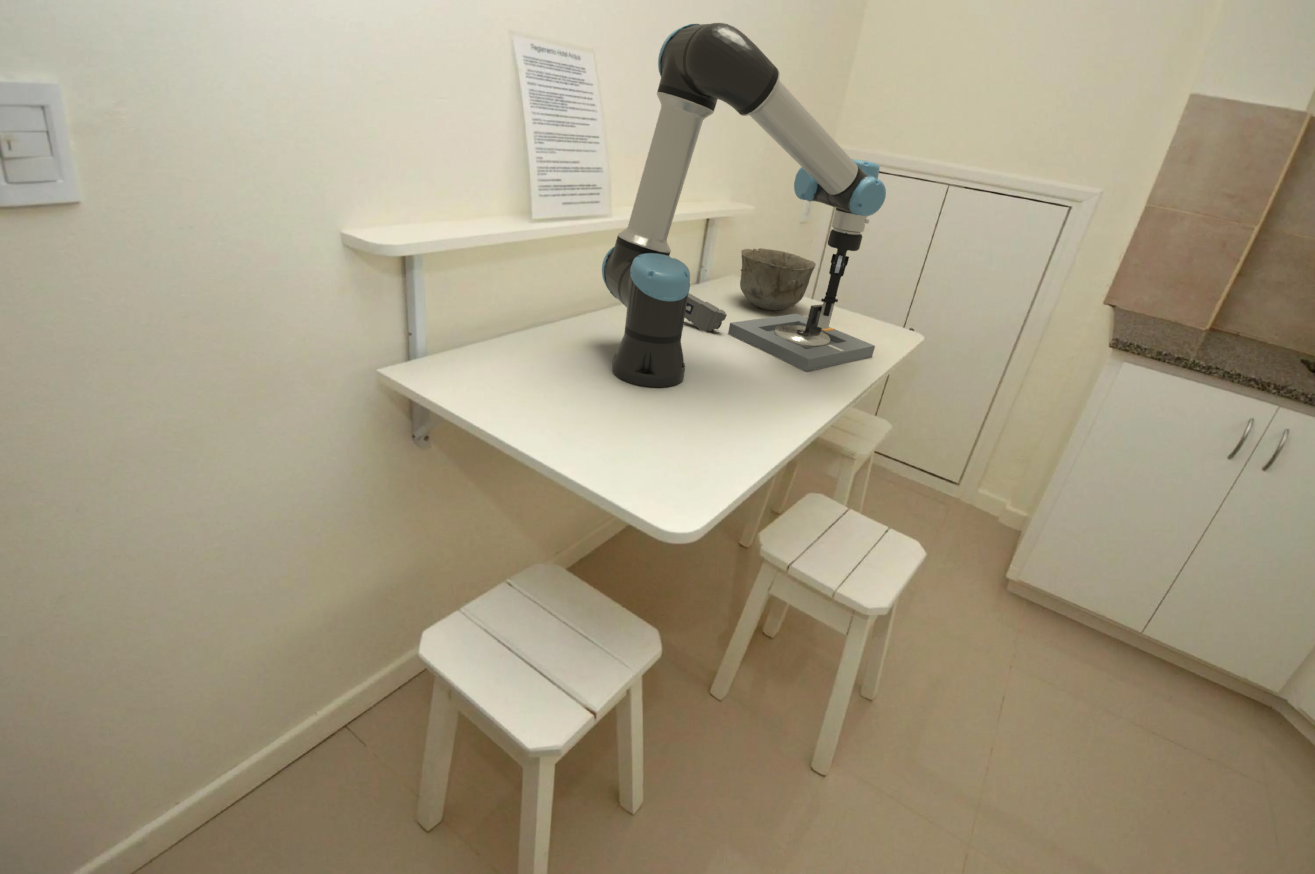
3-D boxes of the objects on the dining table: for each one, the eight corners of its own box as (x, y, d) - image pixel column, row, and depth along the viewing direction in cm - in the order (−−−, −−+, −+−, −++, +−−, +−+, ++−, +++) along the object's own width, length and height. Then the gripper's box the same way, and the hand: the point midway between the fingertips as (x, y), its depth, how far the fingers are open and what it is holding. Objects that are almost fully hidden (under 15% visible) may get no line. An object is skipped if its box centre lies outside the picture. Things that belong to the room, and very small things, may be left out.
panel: (805, 371, 150) (809, 358, 149) (727, 334, 167) (730, 322, 166) (871, 356, 166) (875, 345, 164) (794, 324, 183) (797, 312, 182)
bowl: (762, 293, 208) (772, 245, 201) (819, 314, 195) (831, 264, 188) (716, 300, 194) (724, 249, 187) (773, 323, 181) (785, 269, 174)
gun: (695, 362, 171) (724, 316, 163) (625, 305, 176) (649, 258, 167) (701, 359, 174) (729, 313, 165) (631, 303, 178) (655, 256, 170)
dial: (840, 345, 165) (849, 313, 161) (803, 352, 157) (811, 318, 153) (798, 327, 175) (806, 296, 171) (762, 332, 166) (769, 300, 163)
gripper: (862, 237, 148) (836, 337, 159) (863, 230, 159) (839, 324, 170) (829, 231, 150) (805, 330, 160) (832, 225, 161) (810, 318, 171)
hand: (822, 327), depth 165 cm, fingers closed
